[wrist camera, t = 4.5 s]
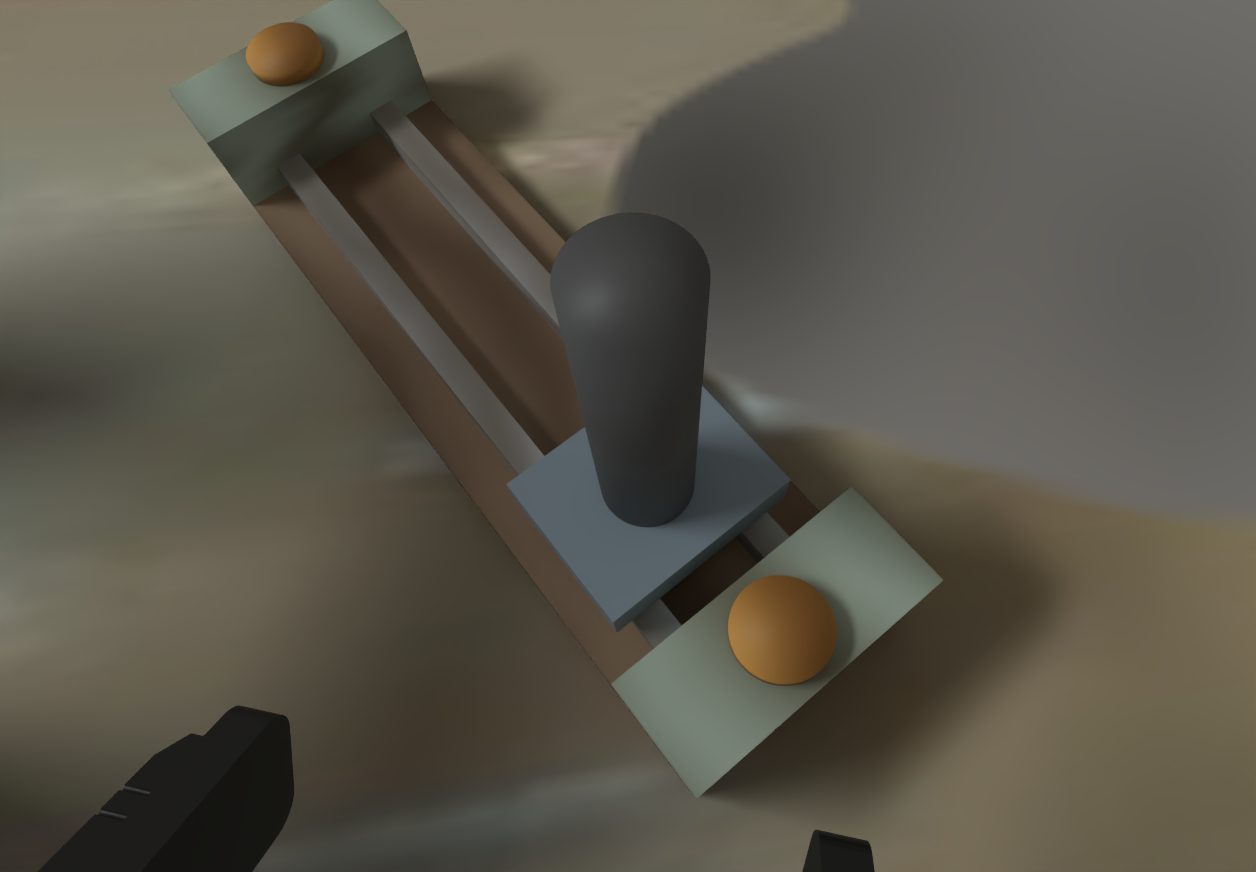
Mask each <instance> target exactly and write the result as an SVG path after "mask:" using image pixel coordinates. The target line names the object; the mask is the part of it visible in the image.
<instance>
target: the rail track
mask: <svg viewBox="0 0 1256 872" xmlns="http://www.w3.org/2000/svg"><path fill="white" fill-rule="evenodd" d="M168 91H169V93H170V94H171V95H172V97H173V98H174V99H175V101H176V102H177V104H178V105H179V106H180V108H181V109H182V110H183V112H184V113H185V114H186V116H187V117H188V118H189V120H190V121H191V123H192V124H193V125H194V127H195V128H196V129H197V131H198V132H199V133H200V135H201V136H202V137H203V139H204V140H205V141H206V143H207V144H208V146H209V147H210V148H211V150H212V151H213V152H214V154H215V155H216V156H217V158H218V159H219V160H220V162H221V163H222V164H223V166H224V167H225V169H226V170H227V171H228V173H229V174H230V175H231V177H232V178H233V179H234V181H235V182H236V183H237V185H238V186H239V187H240V189H241V190H242V191H243V193H244V194H245V195H246V197H247V198H248V199H249V201H250V202H251V203H252V205H253V206H254V207H255V209H256V210H257V211H258V213H259V214H260V216H261V217H262V218H263V220H264V221H265V222H266V224H267V225H268V226H269V228H270V229H271V230H272V232H273V233H274V234H275V236H276V237H277V238H278V240H279V241H280V242H281V244H282V245H283V246H284V248H285V249H286V250H287V252H288V253H289V254H290V256H291V257H292V258H293V260H294V261H295V262H296V264H297V265H298V266H299V268H300V269H301V270H302V272H303V273H304V274H305V276H306V277H307V278H308V280H309V281H310V283H311V284H312V285H313V287H314V288H315V289H316V291H317V292H318V293H319V295H320V296H321V297H322V299H323V300H324V301H325V303H326V304H327V305H328V307H329V308H330V309H331V311H332V312H333V313H334V315H335V316H336V317H337V319H338V320H339V321H340V323H341V324H342V325H343V327H344V328H345V329H346V331H347V332H348V333H349V335H350V336H351V337H352V339H353V340H354V341H355V343H356V344H357V346H358V347H359V348H360V350H361V351H362V352H363V354H364V355H365V356H366V358H367V359H368V360H369V362H370V363H371V364H372V366H373V367H374V368H375V370H376V371H377V372H378V374H379V375H380V376H381V378H382V379H383V380H384V382H385V383H386V384H387V386H388V387H389V388H390V390H391V391H392V392H393V394H394V395H395V396H396V398H397V399H398V400H399V402H400V403H401V404H402V406H403V407H404V409H405V410H406V411H407V413H408V414H409V415H410V417H411V418H412V419H413V421H414V422H415V423H416V425H417V426H418V427H419V429H420V430H421V431H422V433H423V434H424V435H425V437H426V438H427V439H428V441H429V442H430V443H431V445H432V446H433V447H434V449H435V450H436V451H437V453H438V454H439V455H440V457H441V458H442V459H443V461H444V462H445V463H446V465H447V466H448V467H449V469H450V470H451V472H452V473H453V474H454V476H455V477H456V478H457V480H458V481H459V482H460V484H461V485H462V486H463V488H464V489H465V490H466V492H467V493H468V494H469V496H470V497H471V498H472V500H473V501H474V502H475V504H476V505H477V506H478V508H479V509H480V510H481V512H482V513H483V514H484V516H485V517H486V518H487V520H488V521H489V522H490V524H491V525H492V526H493V528H494V529H495V530H496V532H497V533H498V534H499V536H500V537H501V539H502V540H503V541H504V543H505V544H506V545H507V547H508V548H509V549H510V551H511V552H512V553H513V555H514V556H515V557H516V559H517V560H518V561H519V563H520V564H521V565H522V567H523V568H524V569H525V571H526V572H527V573H528V575H529V576H530V577H531V579H532V580H533V581H534V583H535V584H536V585H537V587H538V588H539V589H540V591H541V592H542V593H543V595H544V596H545V597H546V599H547V600H548V602H549V603H550V604H551V606H552V607H553V608H554V610H555V611H556V612H557V614H558V615H559V616H560V618H561V619H562V620H563V622H564V623H565V624H566V626H567V627H568V628H569V630H570V631H571V632H572V634H573V635H574V636H575V638H576V639H577V640H578V642H579V643H580V644H581V646H582V647H583V648H584V650H585V651H586V652H587V654H588V655H589V656H590V658H591V659H592V660H593V662H594V663H595V665H596V666H597V667H598V669H599V670H600V671H601V673H602V674H603V675H604V677H605V678H606V679H607V681H608V682H609V683H610V685H611V686H612V687H613V689H614V690H615V691H616V693H617V694H618V695H619V697H620V698H621V699H622V701H623V702H624V703H625V705H626V706H627V707H628V709H629V710H630V711H631V713H632V714H633V715H634V717H635V718H636V719H637V721H638V722H639V723H640V725H641V726H642V728H643V729H644V730H645V732H646V733H647V734H648V736H649V737H650V738H651V740H652V741H653V742H654V744H655V745H656V746H657V748H658V749H659V750H660V752H661V753H662V754H663V756H664V757H665V758H666V760H667V761H668V762H669V764H670V765H671V766H672V768H673V769H674V770H675V772H676V773H677V774H678V776H679V777H680V778H681V780H682V781H683V782H684V784H685V785H686V786H687V788H688V789H689V791H690V792H691V793H692V794H693V796H694V797H695V798H696V799H697V798H698V797H700V796H701V795H702V794H703V793H704V792H705V791H706V790H708V789H709V788H710V787H711V786H712V785H713V784H714V783H715V782H717V781H718V780H719V779H720V778H721V777H722V776H723V775H724V774H726V773H727V772H728V771H729V770H730V769H731V768H732V767H733V766H735V765H736V764H737V763H738V762H739V761H740V760H741V759H742V758H744V757H745V756H746V755H747V754H748V753H749V752H750V751H752V750H753V749H754V748H755V747H756V746H757V745H758V744H759V743H761V742H762V741H763V740H764V739H765V738H766V737H767V736H768V735H770V734H771V733H772V732H773V731H774V730H775V729H776V728H777V727H779V726H780V725H781V724H782V723H783V722H784V721H785V720H786V719H788V718H789V717H790V716H791V715H792V714H793V713H794V712H796V711H797V710H798V709H799V708H800V707H801V706H802V705H803V704H805V703H806V702H807V701H808V700H809V699H810V698H811V697H812V696H814V695H815V694H816V693H817V692H818V691H819V690H820V689H821V688H823V687H824V686H825V685H826V684H827V683H828V682H829V681H830V680H832V679H833V678H834V677H835V676H836V675H837V674H838V673H840V672H841V671H842V670H843V669H844V668H845V667H846V666H847V665H849V664H850V663H851V662H852V661H853V660H854V659H855V658H856V657H858V656H859V655H860V654H861V653H862V652H863V651H864V650H865V649H867V648H868V647H869V646H870V645H871V644H872V643H873V642H874V641H876V640H877V639H878V638H879V637H880V636H881V635H882V634H884V633H885V632H886V631H887V630H888V629H889V628H890V627H891V626H893V625H894V624H895V623H896V622H897V621H898V620H899V619H900V618H902V617H903V616H904V615H905V614H906V613H907V612H908V611H909V610H911V609H912V608H913V607H914V606H915V605H916V604H917V603H918V602H920V601H921V600H922V599H923V598H924V597H925V596H926V595H928V594H929V593H930V592H931V591H932V590H933V589H934V588H935V587H937V586H938V585H939V584H940V583H941V582H942V581H943V579H942V578H941V577H940V576H939V575H938V574H937V573H936V572H935V571H934V570H933V569H932V568H931V567H930V566H929V565H928V564H927V563H926V561H925V560H924V559H923V558H922V557H921V556H920V555H919V554H918V553H917V552H916V551H915V550H914V549H913V548H912V547H911V546H910V545H909V544H908V543H907V542H906V541H905V540H904V539H903V538H902V537H901V536H900V535H899V534H898V533H897V532H896V531H895V530H894V529H893V528H892V527H891V526H890V525H889V524H888V523H887V522H886V521H885V520H884V518H883V517H882V516H881V515H880V514H879V513H878V512H877V511H876V510H875V509H874V508H873V507H872V506H871V505H870V504H869V503H868V502H867V501H866V500H865V499H864V498H863V497H862V496H861V495H860V494H859V493H858V492H857V491H856V490H855V489H854V488H853V487H852V486H851V487H850V488H849V489H847V490H846V491H845V492H844V493H843V494H841V495H840V496H839V497H838V498H836V499H835V500H834V501H833V502H832V503H830V504H829V505H828V506H827V507H826V508H824V509H823V510H822V511H821V512H820V511H819V510H818V509H817V508H816V507H815V506H814V505H813V504H812V503H811V502H810V501H809V500H808V499H807V498H806V497H805V496H804V494H803V493H802V492H801V491H800V490H799V489H798V488H797V487H796V486H795V485H794V484H793V483H792V482H791V481H790V483H789V486H788V488H787V491H786V493H785V496H784V498H783V499H782V500H781V501H780V502H779V503H777V504H776V505H775V506H774V507H772V508H771V509H770V510H769V511H767V512H766V513H765V514H764V515H762V516H761V517H760V518H759V519H758V520H756V521H755V522H754V523H753V524H751V525H750V526H749V527H748V528H746V529H745V530H744V531H743V532H741V533H740V534H739V535H738V536H736V537H735V538H734V539H733V540H731V541H730V542H729V543H728V544H727V545H725V546H724V547H723V548H722V549H720V550H719V551H718V552H717V553H715V554H714V555H713V556H712V557H710V558H709V559H708V560H707V561H705V562H704V563H703V564H702V565H701V566H699V567H698V568H697V569H696V570H694V571H693V572H692V573H691V574H689V575H688V576H687V577H686V578H684V579H683V580H682V581H681V582H679V583H678V584H677V585H676V586H674V587H673V588H672V589H671V590H670V591H668V592H667V593H666V594H665V595H663V596H662V597H661V598H660V599H658V600H657V601H656V602H655V603H653V604H652V605H651V606H650V607H648V608H647V609H646V610H645V611H644V612H642V613H641V614H640V615H639V616H637V617H636V618H635V619H634V620H632V621H631V622H630V623H629V624H627V625H626V626H625V627H624V628H622V629H621V630H620V631H619V632H618V633H617V632H616V631H615V629H614V628H613V627H612V625H611V624H610V623H609V622H608V620H607V619H606V618H605V616H604V615H603V614H602V612H601V611H600V610H599V609H598V607H597V606H596V605H595V603H594V602H593V601H592V599H591V598H590V597H589V596H588V594H587V593H586V592H585V590H584V589H583V588H582V586H581V585H580V584H579V583H578V581H577V580H576V579H575V577H574V576H573V575H572V574H571V572H570V571H569V570H568V568H567V567H566V566H565V564H564V563H563V562H562V561H561V559H560V558H559V557H558V555H557V554H556V553H555V551H554V550H553V549H552V548H551V546H550V545H549V544H548V542H547V541H546V540H545V538H544V537H543V536H542V535H541V533H540V532H539V531H538V529H537V528H536V527H535V526H534V524H533V523H532V522H531V520H530V519H529V518H528V516H527V515H526V514H525V513H524V511H523V510H522V509H521V507H520V506H519V505H518V503H517V502H516V500H515V499H514V497H513V495H512V493H511V492H510V490H509V488H508V486H507V485H506V484H507V483H509V482H510V481H511V480H513V479H514V478H515V477H517V476H518V475H520V474H521V473H522V472H524V471H525V470H526V469H528V468H529V467H530V466H532V465H533V464H535V463H536V462H537V461H539V460H540V459H541V458H543V457H544V456H546V455H547V454H548V453H550V452H551V451H552V450H554V449H555V448H556V447H558V446H559V445H561V444H562V443H563V442H565V441H566V440H567V439H569V438H570V437H572V436H573V435H574V434H576V433H577V432H578V431H580V430H581V429H583V428H584V427H585V425H584V421H583V417H582V413H581V409H580V405H579V401H578V398H577V394H576V390H575V386H574V382H573V378H572V374H571V370H570V366H569V362H568V358H567V354H566V350H565V346H564V342H563V338H562V334H561V330H560V326H559V322H558V318H557V314H556V310H555V306H554V302H553V298H552V294H551V287H550V278H551V270H552V267H553V263H554V261H555V258H556V256H557V254H558V252H559V251H560V249H561V248H562V246H563V245H564V244H565V241H564V240H563V239H562V238H561V237H560V236H559V235H558V234H557V233H556V232H555V231H554V230H553V228H552V227H551V226H550V225H549V224H548V223H547V222H546V221H545V220H544V219H543V218H542V217H541V216H540V215H539V214H538V213H537V211H536V210H535V209H534V208H533V207H532V206H531V205H530V204H529V203H528V202H527V201H526V200H525V199H524V198H523V197H522V196H521V195H520V193H519V192H518V191H517V190H516V189H515V188H514V187H513V186H512V185H511V184H510V183H509V182H508V181H507V180H506V179H505V178H504V177H503V175H502V174H501V173H500V172H499V171H498V170H497V169H496V168H495V167H494V166H493V165H492V164H491V163H490V162H489V161H488V160H487V158H486V157H485V156H484V155H483V154H482V153H481V152H480V151H479V150H478V149H477V148H476V147H475V146H474V145H473V144H472V143H471V142H470V140H469V139H468V138H467V137H466V136H465V135H464V134H463V133H462V132H461V131H460V130H459V129H458V128H457V127H456V126H455V125H454V124H453V122H452V121H451V120H450V119H449V118H448V117H447V116H446V115H445V114H444V113H443V112H442V111H441V110H440V109H439V108H438V107H437V105H436V104H435V103H434V102H433V101H432V100H431V97H430V94H429V92H428V89H427V86H426V83H425V80H424V78H423V75H422V72H421V69H420V67H419V64H418V61H417V58H416V55H415V53H414V50H413V47H412V44H411V41H410V39H409V36H408V33H407V30H406V29H405V28H404V27H403V26H402V25H401V24H400V23H399V22H398V21H397V20H396V19H395V18H394V17H393V16H392V15H391V14H390V13H389V12H388V11H387V10H386V9H385V8H384V7H383V6H382V5H381V4H380V3H379V2H378V0H332V1H330V2H329V3H327V4H325V5H323V6H321V7H319V8H318V9H316V10H314V11H312V12H310V13H308V14H307V15H305V16H303V17H301V18H299V19H297V20H295V21H294V22H287V23H280V24H276V25H273V26H270V27H268V28H266V29H264V30H263V31H261V32H260V33H258V34H257V35H256V36H255V37H254V38H253V39H252V40H251V42H250V43H249V45H248V47H246V48H244V49H242V50H240V51H238V52H237V53H235V54H233V55H231V56H229V57H227V58H226V59H224V60H222V61H220V62H218V63H216V64H215V65H213V66H211V67H209V68H207V69H205V70H204V71H202V72H200V73H198V74H196V75H194V76H192V77H191V78H189V79H187V80H185V81H183V82H181V83H180V84H178V85H176V86H174V87H172V88H170V89H169V90H168Z"/></svg>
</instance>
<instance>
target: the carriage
mask: <svg viewBox="0 0 1256 872" xmlns="http://www.w3.org/2000/svg"><path fill="white" fill-rule="evenodd" d="M550 287H551V294H552V298H553V302H554V306H555V310H556V314H557V318H558V322H559V326H560V330H561V334H562V338H563V342H564V346H565V350H566V354H567V358H568V362H569V366H570V370H571V374H572V378H573V382H574V386H575V390H576V394H577V398H578V401H579V405H580V409H581V413H582V417H583V421H584V425H585V427H584V428H583V429H581V430H580V431H578V432H577V433H576V434H574V435H573V436H572V437H570V438H569V439H567V440H566V441H565V442H563V443H562V444H561V445H559V446H558V447H556V448H555V449H554V450H552V451H551V452H550V453H548V454H547V455H546V456H544V457H543V458H541V459H540V460H539V461H537V462H536V463H535V464H533V465H532V466H530V467H529V468H528V469H526V470H525V471H524V472H522V473H521V474H520V475H518V476H517V477H515V478H514V479H513V480H511V481H510V482H509V483H507V484H506V485H507V486H508V488H509V490H510V492H511V493H512V495H513V497H514V499H515V500H516V502H517V503H518V505H519V506H520V507H521V509H522V510H523V511H524V513H525V514H526V515H527V516H528V518H529V519H530V520H531V522H532V523H533V524H534V526H535V527H536V528H537V529H538V531H539V532H540V533H541V535H542V536H543V537H544V538H545V540H546V541H547V542H548V544H549V545H550V546H551V548H552V549H553V550H554V551H555V553H556V554H557V555H558V557H559V558H560V559H561V561H562V562H563V563H564V564H565V566H566V567H567V568H568V570H569V571H570V572H571V574H572V575H573V576H574V577H575V579H576V580H577V581H578V583H579V584H580V585H581V586H582V588H583V589H584V590H585V592H586V593H587V594H588V596H589V597H590V598H591V599H592V601H593V602H594V603H595V605H596V606H597V607H598V609H599V610H600V611H601V612H602V614H603V615H604V616H605V618H606V619H607V620H608V622H609V623H610V624H611V625H612V627H613V628H614V629H615V631H616V632H617V633H618V632H619V631H620V630H621V629H622V628H624V627H625V626H626V625H627V624H629V623H630V622H631V621H632V620H634V619H635V618H636V617H637V616H639V615H640V614H641V613H642V612H644V611H645V610H646V609H647V608H648V607H650V606H651V605H652V604H653V603H655V602H656V601H657V600H658V599H660V598H661V597H662V596H663V595H665V594H666V593H667V592H668V591H670V590H671V589H672V588H673V587H674V586H676V585H677V584H678V583H679V582H681V581H682V580H683V579H684V578H686V577H687V576H688V575H689V574H691V573H692V572H693V571H694V570H696V569H697V568H698V567H699V566H701V565H702V564H703V563H704V562H705V561H707V560H708V559H709V558H710V557H712V556H713V555H714V554H715V553H717V552H718V551H719V550H720V549H722V548H723V547H724V546H725V545H727V544H728V543H729V542H730V541H731V540H733V539H734V538H735V537H736V536H738V535H739V534H740V533H741V532H743V531H744V530H745V529H746V528H748V527H749V526H750V525H751V524H753V523H754V522H755V521H756V520H758V519H759V518H760V517H761V516H762V515H764V514H765V513H766V512H767V511H769V510H770V509H771V508H772V507H774V506H775V505H776V504H777V503H779V502H780V501H781V500H782V499H783V498H784V496H785V493H786V491H787V488H788V486H789V483H790V481H791V479H790V478H789V477H788V476H787V475H786V474H785V473H784V472H783V471H782V470H781V469H780V468H779V466H778V465H777V464H776V463H775V462H774V461H773V460H772V459H771V458H770V457H769V456H768V455H767V454H766V453H765V452H764V451H763V450H762V448H761V447H760V446H759V445H758V444H757V443H756V442H755V441H754V440H753V439H752V438H751V437H750V436H749V435H748V434H747V433H746V432H745V430H744V429H743V428H742V427H741V426H740V425H739V424H738V423H737V422H736V421H735V420H734V419H733V418H732V417H731V416H730V415H729V414H728V412H727V411H726V410H725V409H724V408H723V407H722V406H721V405H720V404H719V403H718V402H717V401H716V400H715V399H714V398H713V397H712V396H711V394H710V393H709V392H708V391H707V390H706V389H705V388H704V387H703V386H702V382H703V369H704V356H705V343H706V330H707V316H708V304H709V290H710V269H709V264H708V260H707V257H706V255H705V253H704V251H703V249H702V247H701V246H700V244H699V243H698V242H697V241H696V239H695V238H694V237H693V236H692V235H691V234H690V233H689V232H687V231H686V230H685V229H684V228H682V227H681V226H679V225H678V224H676V223H674V222H672V221H670V220H668V219H665V218H662V217H660V216H656V215H651V214H645V213H621V214H615V215H610V216H606V217H603V218H600V219H598V220H595V221H593V222H591V223H589V224H587V225H586V226H584V227H582V228H581V229H580V230H578V231H577V232H576V233H574V234H573V235H572V236H571V237H570V238H569V239H568V240H567V241H566V242H565V244H564V245H563V246H562V248H561V249H560V251H559V252H558V254H557V256H556V258H555V261H554V263H553V267H552V270H551V278H550Z"/></svg>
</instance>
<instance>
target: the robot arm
mask: <svg viewBox="0 0 1256 872" xmlns="http://www.w3.org/2000/svg"><path fill="white" fill-rule="evenodd" d="M293 797H294V779H293V765H292V751H291V737H290V725H289V721H288V719H287V717H286V716H284V715H280V714H275V713H271V712H266V711H262V710H257V709H253V708H248V707H243V706H235V707H233V708H231V709H230V710H228V711H227V712H226V713H225V714H224V715H223V716H222V717H221V718H220V719H219V721H218V722H217V723H216V724H215V725H214V726H213V727H212V728H211V729H210V730H209V731H208V732H207V733H206V734H205V735H204V736H200V735H196V734H189V735H188V736H186V737H184V738H183V739H181V740H179V741H178V742H176V743H174V744H172V745H171V746H169V747H167V748H166V749H164V750H162V751H161V752H159V753H157V754H156V755H154V756H153V757H152V758H151V759H150V760H149V761H148V762H147V763H146V764H145V765H144V766H143V767H142V768H141V769H140V770H139V771H138V772H137V773H136V774H135V775H134V776H133V777H132V778H131V779H130V780H129V781H128V782H127V783H126V784H125V787H124V789H123V790H122V791H121V790H119V791H118V792H117V793H116V794H115V795H114V796H113V797H112V798H111V799H110V800H109V801H108V802H107V803H106V804H105V805H104V806H103V807H102V808H101V811H100V813H99V814H98V815H96V814H95V815H94V816H93V817H92V818H91V819H90V820H89V821H88V822H87V823H86V824H85V825H84V826H83V827H82V828H81V829H80V830H79V831H78V832H77V833H76V834H75V835H74V836H73V837H72V838H71V839H70V840H69V841H68V842H67V843H66V844H65V845H64V846H63V847H62V848H61V849H60V850H59V851H58V852H57V853H56V854H55V855H54V856H53V857H52V858H51V859H50V860H49V861H48V862H47V863H46V864H45V865H44V866H43V867H42V868H41V869H40V870H39V871H38V872H252V871H253V870H254V868H255V867H256V866H257V864H258V863H259V861H260V860H261V859H262V857H263V856H264V854H265V853H266V852H267V850H268V849H269V847H270V846H271V844H272V843H273V842H274V840H275V839H276V837H277V836H278V834H279V833H280V831H281V830H282V828H283V826H284V824H285V822H286V820H287V817H288V815H289V812H290V809H291V806H292V802H293ZM803 872H875V871H874V864H873V856H872V850H871V846H870V844H869V842H868V841H866V840H861V839H857V838H852V837H848V836H843V835H838V834H834V833H829V832H825V831H820V830H815V831H814V832H813V835H812V838H811V841H810V845H809V849H808V853H807V856H806V860H805V864H804V868H803Z"/></svg>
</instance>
